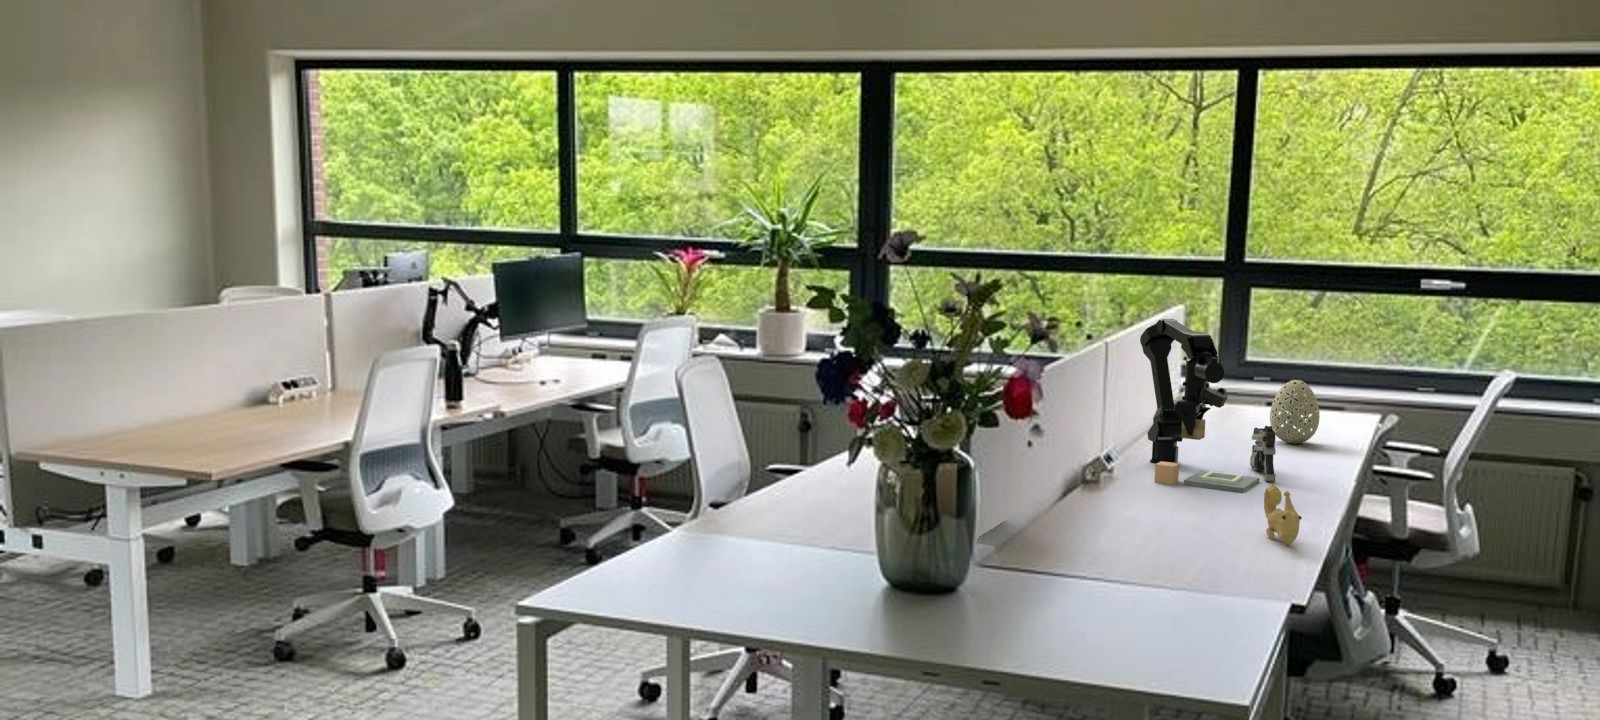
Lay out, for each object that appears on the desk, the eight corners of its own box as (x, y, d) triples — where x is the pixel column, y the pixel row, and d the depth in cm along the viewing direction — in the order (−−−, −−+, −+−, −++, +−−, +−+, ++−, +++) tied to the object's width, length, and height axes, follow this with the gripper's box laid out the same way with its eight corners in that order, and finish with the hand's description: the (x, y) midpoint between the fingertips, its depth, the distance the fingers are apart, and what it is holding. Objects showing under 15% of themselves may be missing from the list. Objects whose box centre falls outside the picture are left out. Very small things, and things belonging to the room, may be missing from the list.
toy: (1280, 479, 337) (1309, 498, 317) (1277, 530, 339) (1306, 551, 319) (1257, 479, 337) (1285, 497, 317) (1255, 529, 339) (1281, 551, 319)
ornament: (1322, 442, 451) (1326, 379, 448) (1311, 449, 439) (1315, 385, 436) (1275, 437, 459) (1278, 375, 456) (1262, 444, 446) (1266, 380, 444)
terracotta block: (1154, 482, 388) (1155, 464, 387) (1160, 479, 392) (1161, 461, 392) (1172, 484, 385) (1173, 466, 385) (1178, 481, 390) (1179, 463, 389)
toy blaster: (1260, 479, 410) (1262, 426, 411) (1278, 481, 389) (1279, 426, 390) (1247, 478, 410) (1248, 426, 411) (1264, 480, 390) (1265, 425, 390)
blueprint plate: (1183, 484, 385) (1183, 477, 385) (1200, 474, 399) (1201, 467, 399) (1243, 492, 377) (1244, 485, 377) (1259, 481, 391) (1259, 474, 390)
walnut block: (1181, 438, 397) (1182, 420, 397) (1186, 435, 402) (1187, 417, 401) (1199, 439, 395) (1200, 422, 394) (1204, 437, 399) (1205, 419, 398)
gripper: (1215, 384, 384) (1212, 441, 386) (1234, 377, 400) (1231, 432, 402) (1174, 381, 390) (1171, 437, 392) (1194, 374, 406) (1192, 428, 408)
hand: (1193, 434), depth 398 cm, fingers closed on walnut block, 5 cm apart
